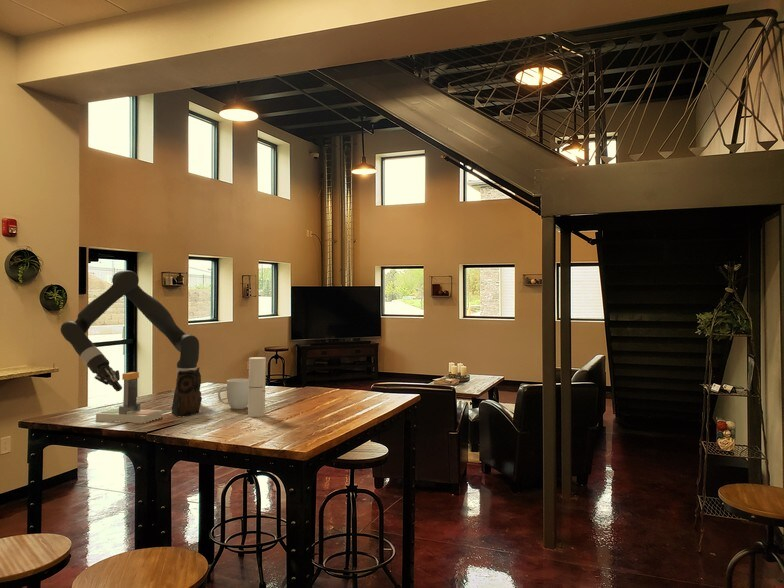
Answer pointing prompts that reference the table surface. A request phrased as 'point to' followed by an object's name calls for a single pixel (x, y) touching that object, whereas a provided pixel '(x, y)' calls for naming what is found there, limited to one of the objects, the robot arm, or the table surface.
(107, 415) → the switch panel
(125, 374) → the lever
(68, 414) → the table surface
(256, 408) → the white tall block
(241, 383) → the mug
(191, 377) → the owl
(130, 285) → the robot arm
